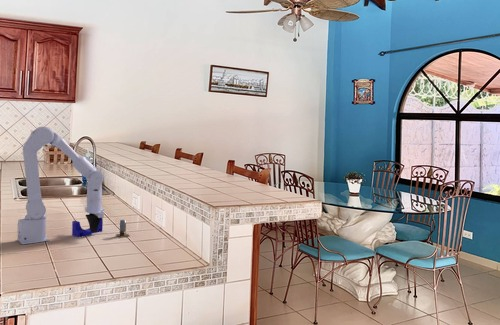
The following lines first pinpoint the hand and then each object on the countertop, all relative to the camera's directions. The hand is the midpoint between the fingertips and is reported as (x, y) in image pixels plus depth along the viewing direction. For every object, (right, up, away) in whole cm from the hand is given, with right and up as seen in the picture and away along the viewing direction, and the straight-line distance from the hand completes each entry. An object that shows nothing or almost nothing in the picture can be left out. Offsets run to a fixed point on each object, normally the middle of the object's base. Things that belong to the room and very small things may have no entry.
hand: (93, 231), depth 165 cm
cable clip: (-3, -2, +2) cm, 4 cm away
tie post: (+12, -2, +1) cm, 12 cm away
